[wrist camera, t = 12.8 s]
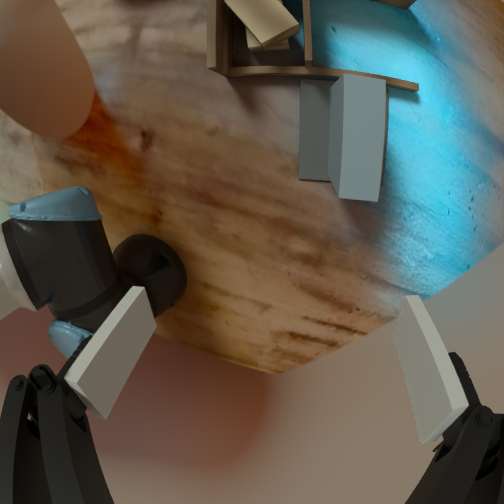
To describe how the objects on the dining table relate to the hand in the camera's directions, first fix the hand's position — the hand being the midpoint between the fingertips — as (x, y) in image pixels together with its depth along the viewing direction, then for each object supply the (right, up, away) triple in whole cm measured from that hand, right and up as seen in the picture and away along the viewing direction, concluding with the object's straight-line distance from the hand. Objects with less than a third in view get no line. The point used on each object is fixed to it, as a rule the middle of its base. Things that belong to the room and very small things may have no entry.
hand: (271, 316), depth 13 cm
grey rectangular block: (+11, +19, +19) cm, 29 cm away
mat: (+11, +19, +20) cm, 30 cm away
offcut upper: (+1, +32, +11) cm, 34 cm away
